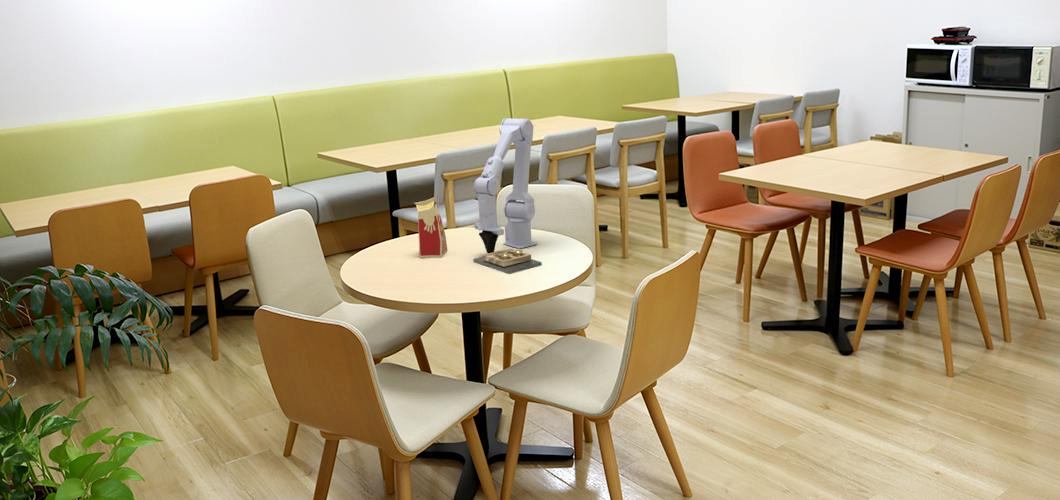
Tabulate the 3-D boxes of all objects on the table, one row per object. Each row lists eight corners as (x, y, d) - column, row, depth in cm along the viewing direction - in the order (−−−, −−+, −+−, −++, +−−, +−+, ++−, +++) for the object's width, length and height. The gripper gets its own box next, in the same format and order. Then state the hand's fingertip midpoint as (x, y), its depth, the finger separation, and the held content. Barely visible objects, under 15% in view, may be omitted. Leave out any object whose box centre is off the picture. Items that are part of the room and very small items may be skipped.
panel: (482, 259, 294) (482, 255, 294) (509, 252, 301) (509, 248, 300) (503, 266, 285) (503, 261, 285) (531, 259, 291) (531, 254, 291)
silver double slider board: (473, 261, 297) (472, 249, 296) (505, 253, 305) (504, 241, 304) (508, 273, 282) (508, 261, 281) (541, 265, 289) (540, 252, 288)
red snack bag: (447, 250, 313) (442, 194, 308) (442, 257, 305) (437, 200, 299) (422, 251, 314) (416, 195, 309) (416, 258, 306) (410, 200, 300)
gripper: (465, 211, 300) (468, 251, 303) (490, 218, 288) (493, 259, 292) (483, 208, 304) (485, 247, 307) (508, 214, 292) (510, 254, 296)
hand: (490, 252), depth 300 cm, fingers closed
